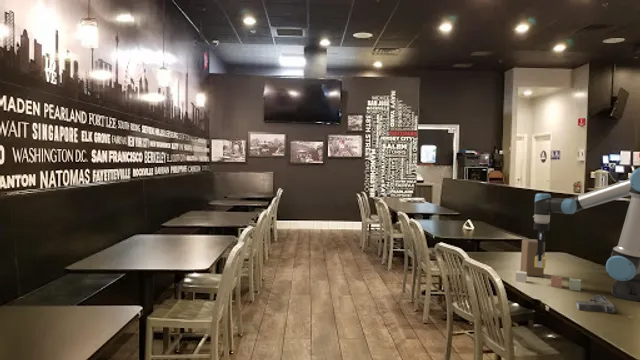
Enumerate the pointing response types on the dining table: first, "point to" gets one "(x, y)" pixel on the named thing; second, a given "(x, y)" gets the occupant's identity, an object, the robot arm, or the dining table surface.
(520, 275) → the cream cube
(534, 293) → the dining table surface
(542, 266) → the mustard cube
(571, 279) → the sage cube
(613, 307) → the handgun
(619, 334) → the dining table surface
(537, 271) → the wooden block
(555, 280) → the terracotta cube
